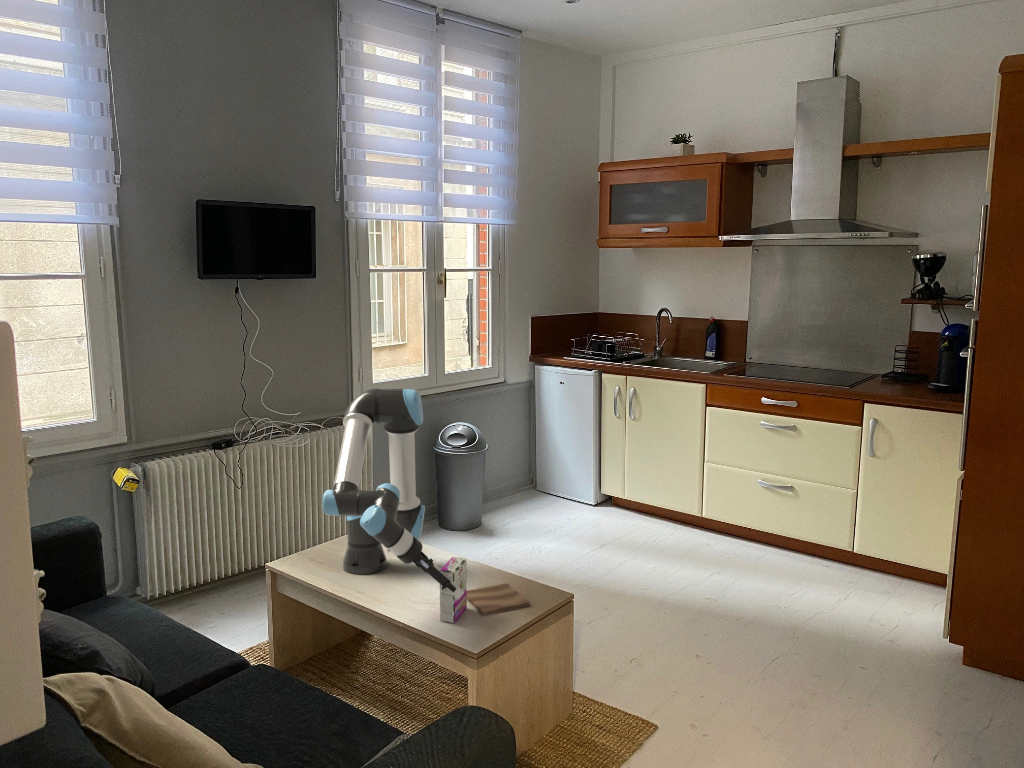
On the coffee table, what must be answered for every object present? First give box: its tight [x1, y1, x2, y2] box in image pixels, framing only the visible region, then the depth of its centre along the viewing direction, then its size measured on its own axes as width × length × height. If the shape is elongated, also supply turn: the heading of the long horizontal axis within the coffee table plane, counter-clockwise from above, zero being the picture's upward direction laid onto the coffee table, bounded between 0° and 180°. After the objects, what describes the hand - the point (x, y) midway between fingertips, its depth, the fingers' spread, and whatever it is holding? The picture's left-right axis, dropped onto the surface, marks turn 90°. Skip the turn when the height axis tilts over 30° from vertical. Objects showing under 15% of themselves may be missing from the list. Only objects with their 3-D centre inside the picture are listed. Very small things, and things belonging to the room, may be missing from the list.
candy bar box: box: [439, 556, 468, 624], centre depth 238 cm, size 11×5×16 cm, turn 164°
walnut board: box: [467, 583, 530, 616], centre depth 250 cm, size 16×16×1 cm
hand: (452, 586), depth 237 cm, fingers open, 13 cm apart
